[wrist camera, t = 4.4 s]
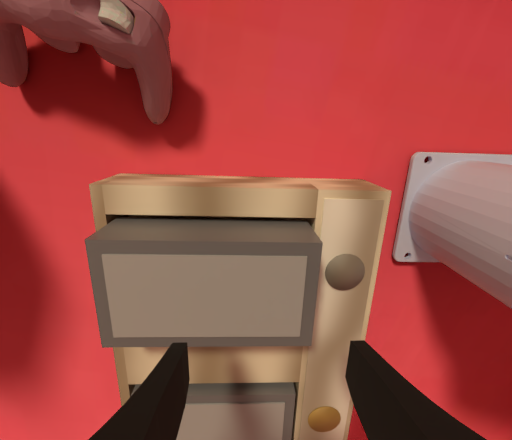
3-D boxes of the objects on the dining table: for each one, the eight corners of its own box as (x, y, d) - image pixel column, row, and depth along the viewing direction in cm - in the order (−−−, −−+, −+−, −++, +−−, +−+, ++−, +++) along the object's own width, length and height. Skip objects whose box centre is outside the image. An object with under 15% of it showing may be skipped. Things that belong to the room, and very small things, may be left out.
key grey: (306, 220, 17) (323, 243, 13) (298, 307, 18) (311, 347, 15) (117, 217, 16) (83, 240, 13) (128, 307, 18) (101, 348, 14)
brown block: (287, 355, 22) (295, 395, 19) (283, 411, 24) (289, 457, 21) (147, 356, 22) (129, 397, 18) (153, 413, 24) (138, 461, 20)
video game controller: (187, 70, 19) (172, -42, 12) (169, 134, 18) (142, 52, 11) (28, 25, 17) (-92, -128, 11) (1, 90, 17) (-147, -31, 10)
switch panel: (362, 179, 20) (393, 192, 16) (328, 415, 26) (343, 466, 22) (120, 173, 19) (86, 185, 15) (147, 418, 25) (129, 472, 21)
